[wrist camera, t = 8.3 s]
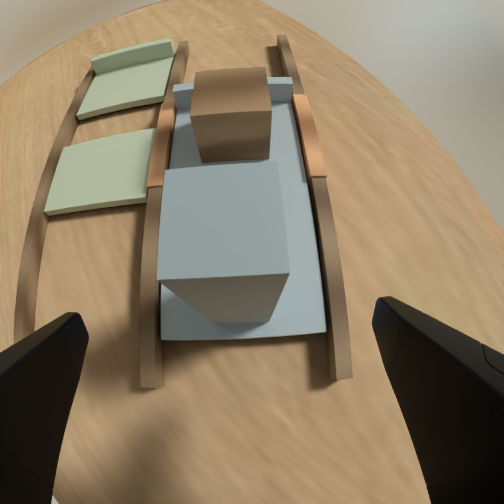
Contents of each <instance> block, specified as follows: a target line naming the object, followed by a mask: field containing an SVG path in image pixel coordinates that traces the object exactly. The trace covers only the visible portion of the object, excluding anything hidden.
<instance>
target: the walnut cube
mask: <svg viewBox="0 0 504 504" xmlns="http://www.w3.org/2000/svg"><path fill="white" fill-rule="evenodd" d="M190 119H191V123H192V127H193V131H194V135H195V139H196V143H197V146H198V150H199V154H200V158H201V162H202V163H211V162H224V161H239V160H258V159H269V156H270V140H271V123H272V106H271V100H270V93H269V87H268V81H267V75H266V69H265V67H254V68H234V69H220V70H209V71H200V72H196V73H195V80H194V88H193V95H192V103H191V111H190Z"/></svg>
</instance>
